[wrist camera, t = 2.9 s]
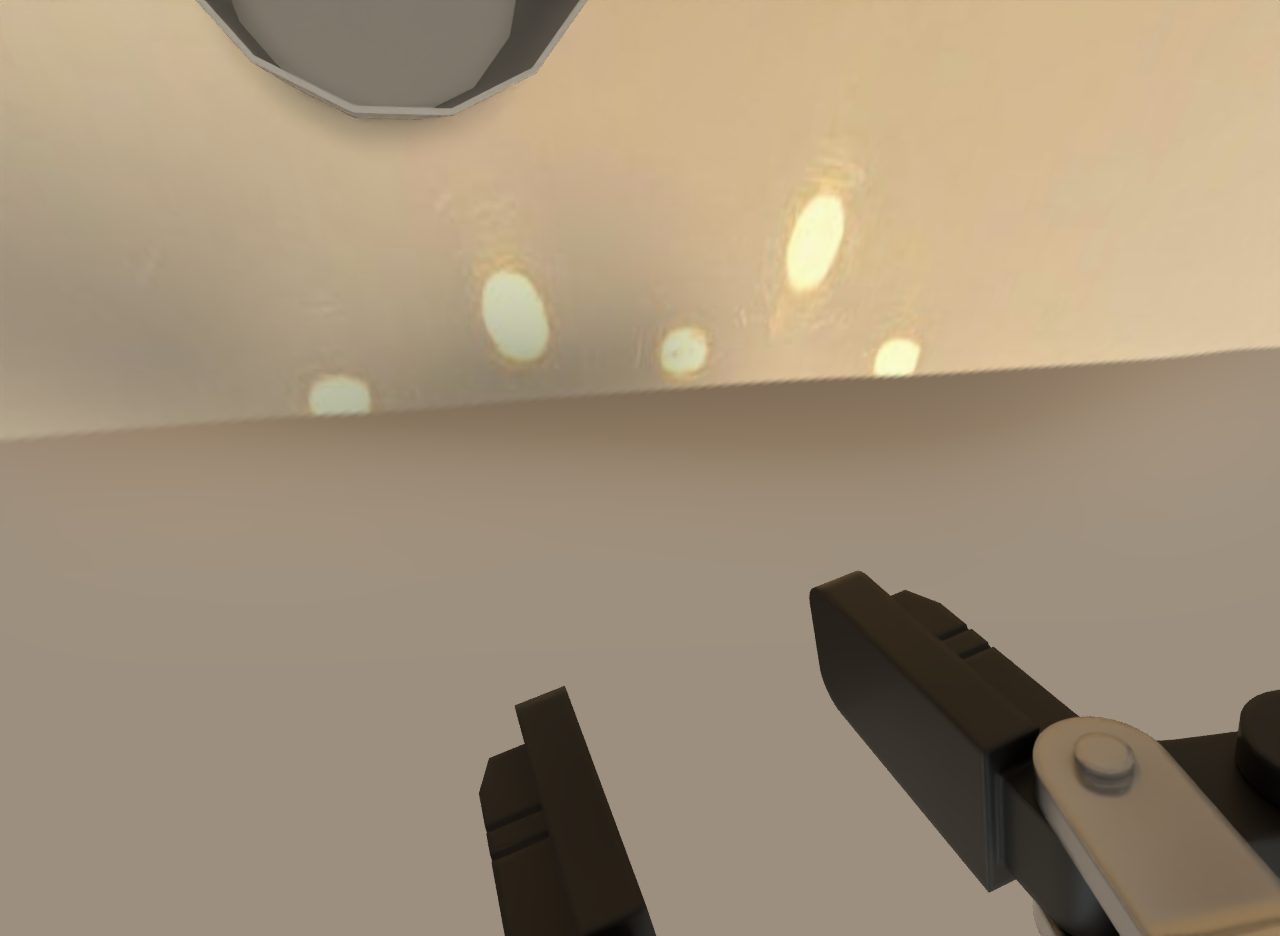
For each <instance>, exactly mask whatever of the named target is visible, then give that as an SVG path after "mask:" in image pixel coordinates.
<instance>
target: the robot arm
mask: <svg viewBox="0 0 1280 936" xmlns="http://www.w3.org/2000/svg"><path fill="white" fill-rule="evenodd" d="M809 599H810V607H811V613H812V620H813V626H814V632H815V639H816V646H817V652H818V659H819V665H820V671H821V674H822V678H823V681H824V684H825V686H826V689H827V691H828V692H829V695H830V697H831V699H832V701H833V702H834V704H835V705H836V707H837V709H838V710H839V711H840V712H841V714H842V715H843V716H844V717H845V719H846V720H847V721H848V722H849V723H850V725H851V726H852V727H853V728H854V730H855V731H856V732H857V733H858V734H859V736H860V737H861V738H862V739H863V740H864V742H865V743H866V744H867V745H868V746H869V748H870V749H871V750H872V751H873V753H874V754H875V755H876V756H877V757H878V759H879V760H880V761H881V762H882V763H883V765H884V766H885V767H886V768H887V770H888V771H889V772H890V773H891V774H892V776H893V777H894V778H895V779H896V780H897V782H898V783H899V784H900V785H901V786H902V788H903V789H904V790H905V791H906V792H907V794H908V795H909V796H910V797H911V799H912V800H913V801H914V802H915V803H916V805H917V806H918V807H919V808H920V810H921V811H922V812H923V813H924V814H925V816H926V817H927V818H928V819H929V820H930V821H931V823H932V824H933V825H934V827H935V828H936V829H937V830H938V831H939V833H940V834H941V835H942V836H943V837H944V839H945V840H946V841H947V842H948V844H949V845H950V846H951V847H952V848H953V850H954V851H955V852H956V853H957V854H958V856H959V857H960V858H961V859H962V861H963V862H964V863H965V864H966V865H967V867H968V868H969V869H970V870H971V871H972V873H973V874H974V875H975V876H976V877H977V879H978V880H979V881H980V882H981V884H982V885H983V886H984V887H985V888H986V890H987V891H988V892H991V891H993V890H995V889H997V888H999V887H1001V886H1003V885H1005V884H1007V883H1009V882H1011V881H1013V880H1015V879H1016V880H1017V881H1018V882H1019V883H1020V884H1021V885H1022V886H1023V888H1024V889H1025V890H1026V891H1027V892H1028V893H1029V894H1030V896H1031V897H1032V898H1033V910H1034V911H1033V913H1034V919H1035V922H1036V926H1037V928H1038V930H1039V933H1040V935H1041V936H1280V690H1276V691H1271V692H1266V693H1263V694H1261V695H1258V696H1256V697H1254V698H1253V699H1251V700H1250V701H1249V702H1248V703H1247V704H1246V705H1245V706H1244V708H1243V709H1242V711H1241V715H1240V722H1239V729H1238V732H1230V733H1223V734H1215V735H1207V736H1200V737H1191V738H1184V739H1176V740H1164V741H1156V740H1155V739H1153V738H1152V737H1151V736H1149V735H1148V734H1146V733H1144V732H1143V731H1141V730H1139V729H1137V728H1135V727H1133V726H1131V725H1128V724H1126V723H1123V722H1119V721H1116V720H1112V719H1107V718H1101V717H1091V716H1090V717H1079V716H1078V715H1077V714H1075V713H1074V712H1073V711H1071V710H1070V709H1069V708H1068V707H1067V706H1065V705H1064V704H1063V703H1061V702H1060V701H1059V700H1058V699H1057V698H1056V697H1054V696H1053V695H1052V694H1051V693H1049V692H1048V691H1047V690H1046V689H1045V688H1043V687H1042V686H1041V685H1040V684H1038V683H1037V682H1036V681H1035V680H1034V679H1032V678H1031V677H1030V676H1029V675H1027V674H1026V673H1025V672H1024V671H1023V670H1021V669H1020V668H1019V667H1018V666H1016V665H1015V664H1014V663H1013V662H1012V661H1010V660H1009V659H1008V658H1007V657H1005V656H1004V655H1003V654H1002V653H1001V652H999V651H998V650H997V649H996V648H994V647H992V648H991V647H990V646H989V645H988V642H987V641H986V640H985V639H983V638H982V637H981V636H979V635H978V634H977V633H976V632H975V631H974V630H972V629H970V630H969V629H968V628H967V625H966V624H965V623H964V622H963V621H961V620H960V619H959V618H958V617H956V616H955V615H954V614H953V613H952V612H950V611H949V610H948V609H947V608H945V607H944V606H943V605H942V604H941V603H938V602H935V601H933V600H930V599H928V598H925V597H922V596H920V595H917V594H915V593H912V592H910V591H907V590H904V591H902V592H899V593H897V594H894V595H892V596H890V595H889V594H888V593H887V592H885V591H884V590H883V589H882V588H881V587H880V586H879V585H877V584H876V583H875V582H874V581H873V580H872V579H871V578H870V577H868V576H867V575H866V574H865V573H863V572H861V571H855V572H853V573H850V574H848V575H845V576H843V577H840V578H837V579H835V580H833V581H830V582H827V583H825V584H822V585H820V586H817V587H815V588H813V589H811V591H810V597H809ZM515 709H516V713H517V717H518V721H519V725H520V728H521V732H522V736H523V739H524V743H525V744H523V745H520V746H518V747H516V748H513V749H511V750H508V751H506V752H503V753H501V754H498V755H496V756H493V757H491V758H489V761H488V764H487V767H486V771H485V774H484V778H483V781H482V785H481V788H480V792H479V796H480V802H481V807H482V813H483V818H484V823H485V828H486V831H487V834H486V835H487V840H488V846H489V851H490V856H491V859H492V868H493V873H494V879H495V884H496V890H497V895H498V901H499V906H500V912H501V917H502V923H503V928H504V933H505V936H656V934H655V931H654V928H653V925H652V922H651V919H650V916H649V913H648V910H647V907H646V904H645V901H644V899H643V896H642V893H641V891H640V888H639V885H638V882H637V880H636V877H635V874H634V872H633V869H632V866H631V864H630V861H629V858H628V855H627V853H626V850H625V847H624V845H623V842H622V839H621V837H620V834H619V831H618V828H617V826H616V823H615V820H614V818H613V815H612V812H611V809H610V807H609V804H608V802H607V799H606V796H605V794H604V791H603V788H602V785H601V782H600V780H599V777H598V774H597V772H596V769H595V766H594V764H593V761H592V758H591V755H590V753H589V750H588V747H587V745H586V742H585V739H584V736H583V734H582V731H581V728H580V726H579V723H578V720H577V718H576V715H575V712H574V709H573V707H572V704H571V701H570V699H569V696H568V693H567V691H566V688H565V686H563V687H561V688H558V689H556V690H553V691H550V692H548V693H545V694H543V695H540V696H538V697H535V698H533V699H530V700H528V701H525V702H523V703H520V704H518V705H515Z"/></svg>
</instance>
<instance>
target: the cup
mask: <svg viewBox="0 0 1280 936" xmlns="http://www.w3.org/2000/svg"><path fill="white" fill-rule="evenodd" d="M196 1H197V2H198V3H199V4H200V6H201V7H202V8H203V9H204V10H205V11H206V12H207V13H208V14H209V16H210V17H211V18H212V19H213V20H214V21H215V22H216V23H217V25H218V26H219V27H220V28H221V29H222V30H223V31H224V32H225V33H226V35H227V36H228V37H229V38H230V39H231V40H232V41H233V42H234V43H235V45H236V46H237V47H238V48H239V49H240V50H241V51H242V52H243V54H244V55H245V56H246V57H247V58H248V59H249V60H250V61H251V62H252V63H254V64H256V65H257V66H259V67H261V68H262V69H264V70H266V71H267V72H269V73H271V74H272V75H274V76H276V77H277V78H279V79H281V80H282V81H284V82H286V83H287V84H289V85H291V86H293V87H295V88H297V89H299V90H301V91H303V92H305V93H307V94H309V95H311V96H313V97H315V98H317V99H319V100H321V101H323V102H325V103H327V104H329V105H331V106H333V107H335V108H337V109H339V110H341V111H343V112H345V113H347V114H349V115H351V116H353V117H355V118H389V119H426V118H435V117H443V116H452V115H455V114H457V113H459V112H461V111H463V110H465V109H467V108H469V107H471V106H473V105H475V104H477V103H478V102H480V101H482V100H484V99H486V98H488V97H490V96H492V95H494V94H496V93H498V92H500V91H502V90H504V89H506V88H508V87H510V86H512V85H514V84H516V83H518V82H520V81H522V80H524V79H526V78H528V77H530V76H532V75H534V74H536V73H537V71H538V70H539V69H540V67H541V66H542V64H543V63H544V62H545V60H546V59H547V57H548V56H549V54H550V53H551V52H552V50H553V49H554V47H555V46H556V45H557V43H558V42H559V40H560V39H561V37H562V36H563V35H564V33H565V32H566V30H567V29H568V28H569V26H570V25H571V23H572V22H573V20H574V19H575V18H576V16H577V15H578V13H579V12H580V11H581V9H582V8H583V6H584V5H585V3H586V2H587V1H588V0H196Z"/></svg>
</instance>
